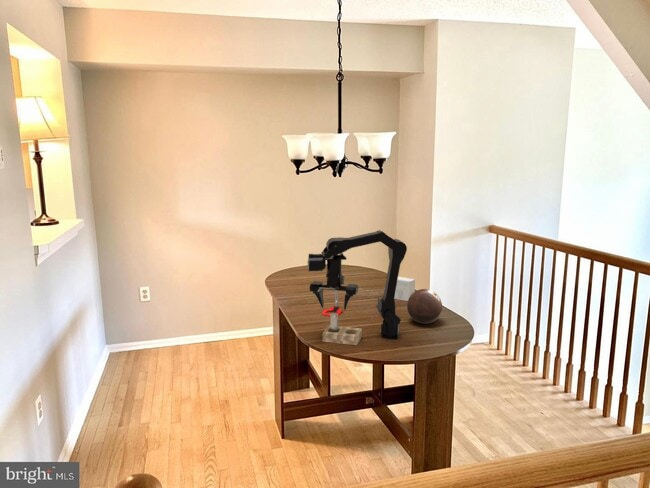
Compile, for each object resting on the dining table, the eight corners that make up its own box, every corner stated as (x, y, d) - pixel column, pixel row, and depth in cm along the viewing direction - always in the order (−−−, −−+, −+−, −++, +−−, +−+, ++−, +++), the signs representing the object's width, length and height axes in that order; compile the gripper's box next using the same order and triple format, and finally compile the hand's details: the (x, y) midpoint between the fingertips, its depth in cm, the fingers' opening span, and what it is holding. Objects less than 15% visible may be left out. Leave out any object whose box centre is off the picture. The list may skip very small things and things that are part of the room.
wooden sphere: (442, 329, 203) (444, 295, 200) (406, 327, 205) (407, 293, 202) (440, 317, 217) (441, 285, 214) (406, 316, 220) (407, 284, 217)
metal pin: (338, 337, 195) (338, 313, 193) (336, 340, 192) (336, 316, 190) (331, 336, 195) (331, 313, 193) (329, 339, 192) (329, 315, 191)
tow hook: (333, 319, 217) (345, 312, 224) (332, 291, 214) (344, 286, 221) (318, 315, 222) (330, 309, 229) (317, 288, 219) (329, 283, 226)
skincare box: (414, 298, 245) (415, 278, 243) (409, 301, 240) (409, 281, 238) (396, 295, 251) (397, 275, 249) (390, 298, 246) (391, 278, 244)
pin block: (361, 336, 195) (361, 328, 194) (357, 345, 186) (357, 336, 186) (328, 333, 199) (328, 325, 198) (322, 341, 190) (322, 333, 189)
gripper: (361, 267, 193) (360, 304, 196) (317, 264, 198) (317, 300, 201) (355, 274, 183) (355, 313, 186) (309, 270, 188) (309, 308, 191)
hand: (333, 308), depth 191 cm, fingers open, 9 cm apart
